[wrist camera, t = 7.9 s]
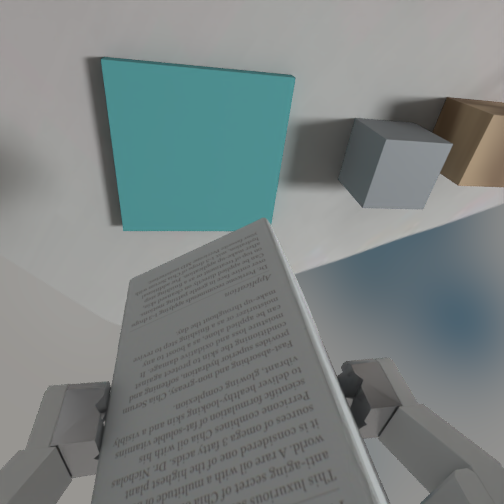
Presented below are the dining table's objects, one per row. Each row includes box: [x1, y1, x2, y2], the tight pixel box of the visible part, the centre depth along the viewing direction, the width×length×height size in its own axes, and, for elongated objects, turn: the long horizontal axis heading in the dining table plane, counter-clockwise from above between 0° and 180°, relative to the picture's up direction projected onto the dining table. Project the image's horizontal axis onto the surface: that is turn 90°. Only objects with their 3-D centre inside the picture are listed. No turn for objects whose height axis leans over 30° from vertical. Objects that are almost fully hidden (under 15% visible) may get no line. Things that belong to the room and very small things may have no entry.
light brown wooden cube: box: [432, 97, 504, 187], centre depth 26 cm, size 5×5×5 cm
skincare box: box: [91, 218, 390, 504], centre depth 10 cm, size 6×4×12 cm
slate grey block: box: [338, 118, 453, 209], centre depth 26 cm, size 5×5×5 cm
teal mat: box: [101, 57, 295, 231], centre depth 25 cm, size 12×12×1 cm
